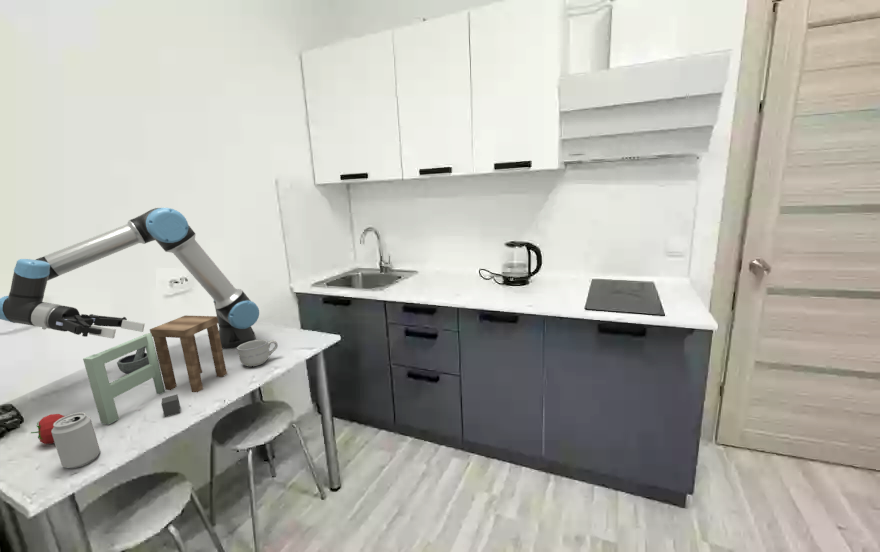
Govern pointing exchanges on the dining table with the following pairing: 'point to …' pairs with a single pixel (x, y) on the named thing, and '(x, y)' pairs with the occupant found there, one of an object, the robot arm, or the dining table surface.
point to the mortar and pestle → (133, 361)
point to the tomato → (47, 428)
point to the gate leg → (109, 391)
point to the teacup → (255, 352)
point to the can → (75, 440)
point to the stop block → (170, 405)
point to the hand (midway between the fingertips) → (129, 330)
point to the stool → (188, 348)
